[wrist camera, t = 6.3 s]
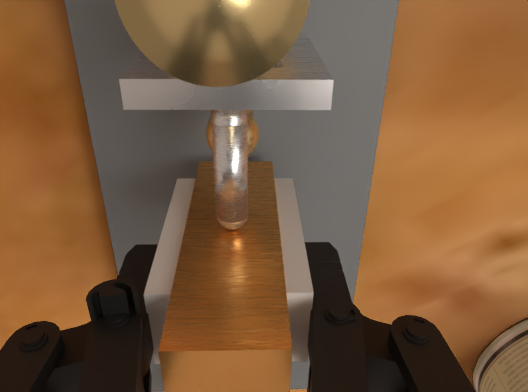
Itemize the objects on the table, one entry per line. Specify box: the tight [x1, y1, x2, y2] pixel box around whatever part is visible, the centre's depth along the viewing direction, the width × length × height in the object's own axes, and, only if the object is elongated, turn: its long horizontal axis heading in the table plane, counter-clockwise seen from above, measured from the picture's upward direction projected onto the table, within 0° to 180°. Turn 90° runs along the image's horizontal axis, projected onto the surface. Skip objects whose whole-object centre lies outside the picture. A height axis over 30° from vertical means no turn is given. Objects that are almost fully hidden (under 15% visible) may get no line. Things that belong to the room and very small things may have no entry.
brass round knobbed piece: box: [115, 0, 310, 156], centre depth 12 cm, size 8×5×10 cm, turn 179°
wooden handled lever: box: [119, 38, 334, 392], centre depth 15 cm, size 13×5×10 cm, turn 179°
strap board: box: [64, 0, 399, 392], centre depth 21 cm, size 26×12×2 cm, turn 179°
